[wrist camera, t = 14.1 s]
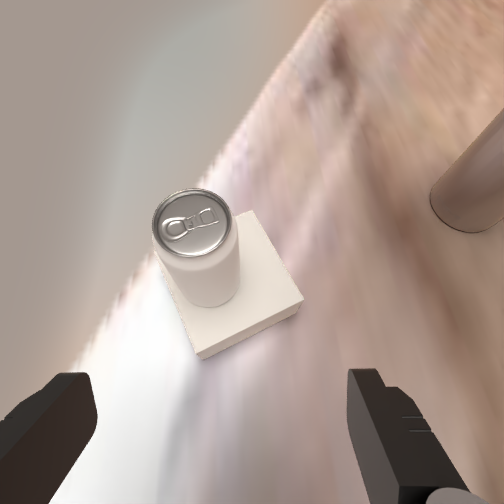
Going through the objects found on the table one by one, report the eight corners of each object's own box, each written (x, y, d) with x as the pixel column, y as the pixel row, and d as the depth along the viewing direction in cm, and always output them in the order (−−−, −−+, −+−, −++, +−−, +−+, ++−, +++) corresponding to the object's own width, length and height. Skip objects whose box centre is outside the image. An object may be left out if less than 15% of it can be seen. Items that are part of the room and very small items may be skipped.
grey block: (251, 233, 42) (252, 209, 37) (295, 313, 38) (304, 299, 33) (166, 270, 40) (153, 250, 34) (203, 360, 36) (195, 353, 30)
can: (170, 264, 34) (134, 200, 23) (226, 242, 35) (217, 172, 24) (191, 319, 31) (161, 277, 21) (250, 293, 33) (252, 241, 22)
